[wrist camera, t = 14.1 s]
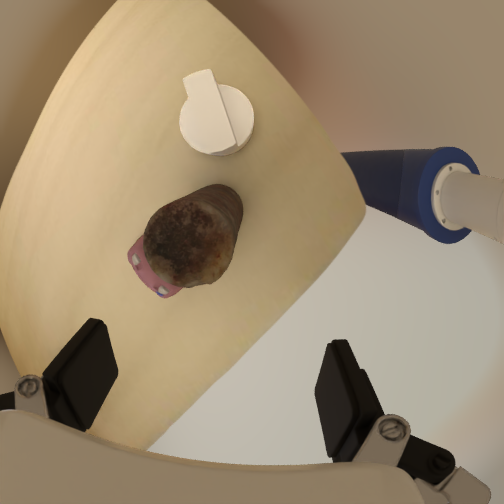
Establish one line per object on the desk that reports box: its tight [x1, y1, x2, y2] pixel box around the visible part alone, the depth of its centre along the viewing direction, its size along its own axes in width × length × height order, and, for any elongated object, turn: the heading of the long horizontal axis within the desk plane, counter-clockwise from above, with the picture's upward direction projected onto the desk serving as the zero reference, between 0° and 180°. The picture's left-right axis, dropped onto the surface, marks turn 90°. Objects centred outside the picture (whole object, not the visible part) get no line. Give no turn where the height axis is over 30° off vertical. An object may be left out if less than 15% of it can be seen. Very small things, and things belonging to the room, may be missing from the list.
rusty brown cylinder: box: [143, 184, 243, 288], centre depth 30 cm, size 8×7×20 cm
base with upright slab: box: [179, 69, 254, 156], centre depth 30 cm, size 9×9×12 cm
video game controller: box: [128, 235, 183, 298], centre depth 39 cm, size 10×5×7 cm, turn 38°
